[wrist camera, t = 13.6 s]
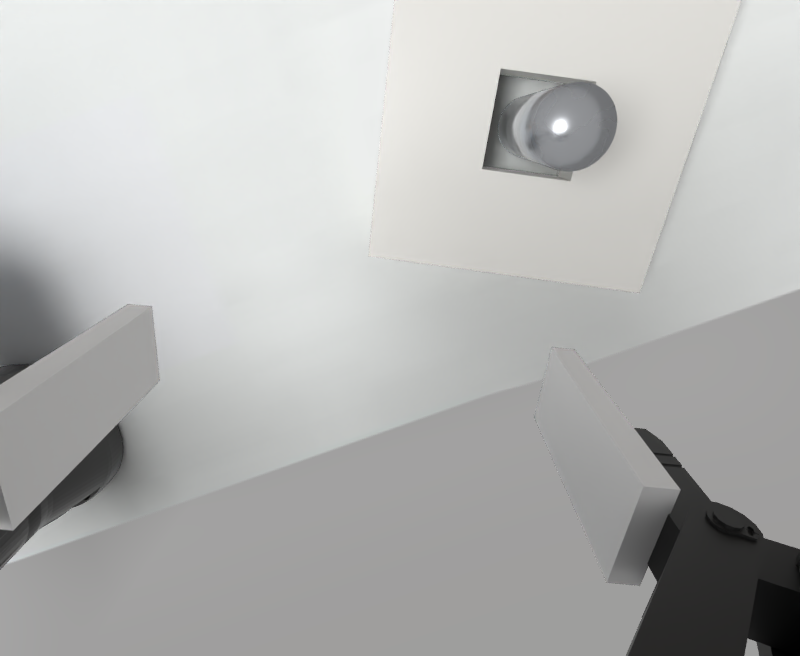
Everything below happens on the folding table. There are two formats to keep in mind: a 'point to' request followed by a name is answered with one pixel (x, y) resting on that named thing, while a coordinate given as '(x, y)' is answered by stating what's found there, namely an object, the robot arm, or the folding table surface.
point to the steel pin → (560, 126)
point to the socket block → (531, 192)
